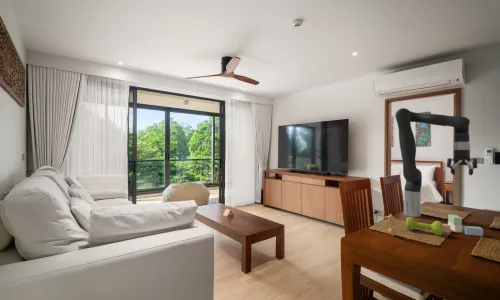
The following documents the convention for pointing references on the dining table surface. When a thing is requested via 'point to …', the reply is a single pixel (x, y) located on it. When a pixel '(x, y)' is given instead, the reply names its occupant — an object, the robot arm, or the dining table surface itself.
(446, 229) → the terracotta brick
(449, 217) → the sage brick
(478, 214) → the dining table surface
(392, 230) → the figurine
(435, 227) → the dumbbell
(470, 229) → the slate brick
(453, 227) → the cream brick
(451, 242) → the dining table surface
